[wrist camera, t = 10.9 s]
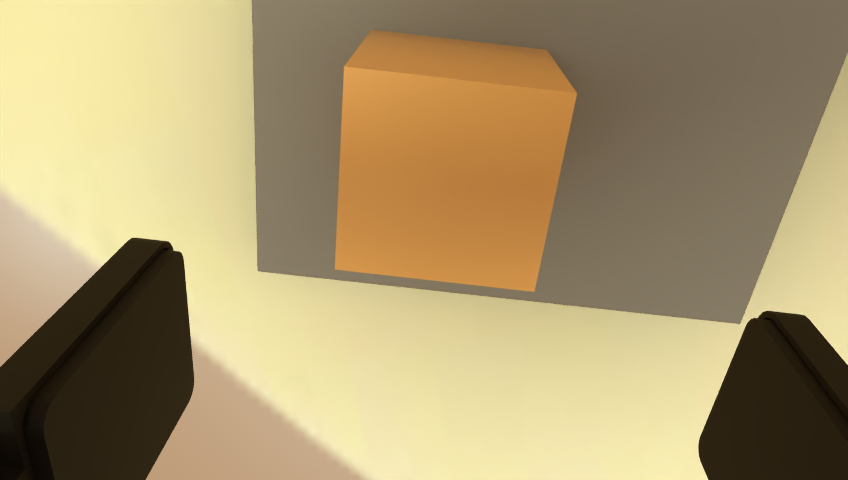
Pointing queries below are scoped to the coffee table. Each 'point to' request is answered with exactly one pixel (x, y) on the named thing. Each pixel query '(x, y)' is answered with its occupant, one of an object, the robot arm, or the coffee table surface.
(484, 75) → the orange cube
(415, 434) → the coffee table surface
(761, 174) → the grey oblong slab
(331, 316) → the coffee table surface
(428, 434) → the coffee table surface
